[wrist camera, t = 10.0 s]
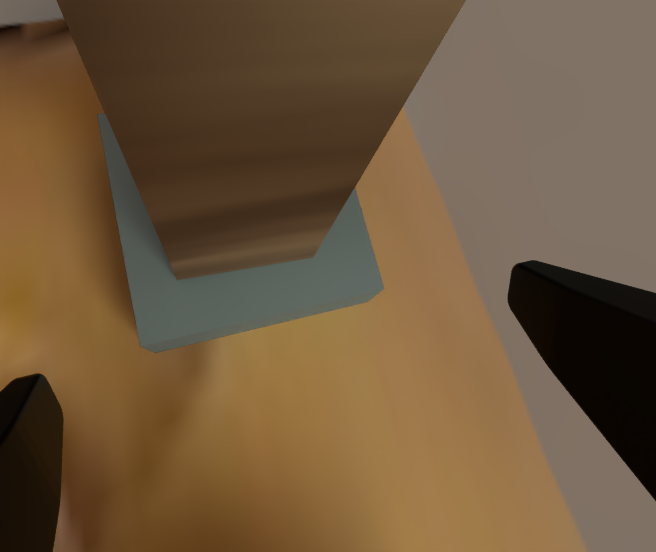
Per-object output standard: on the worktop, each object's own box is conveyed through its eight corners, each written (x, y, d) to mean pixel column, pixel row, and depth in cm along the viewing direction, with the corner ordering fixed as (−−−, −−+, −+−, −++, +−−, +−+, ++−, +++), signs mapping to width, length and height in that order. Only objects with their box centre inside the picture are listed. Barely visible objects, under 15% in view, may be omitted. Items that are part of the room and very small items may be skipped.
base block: (366, 303, 21) (384, 288, 19) (156, 353, 20) (140, 346, 17) (315, 121, 23) (324, 82, 20) (117, 152, 21) (97, 114, 18)
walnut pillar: (313, 257, 18) (484, -31, 6) (176, 280, 17) (46, -22, 5) (286, 139, 19) (387, -317, 7) (155, 152, 18) (4, -367, 6)
